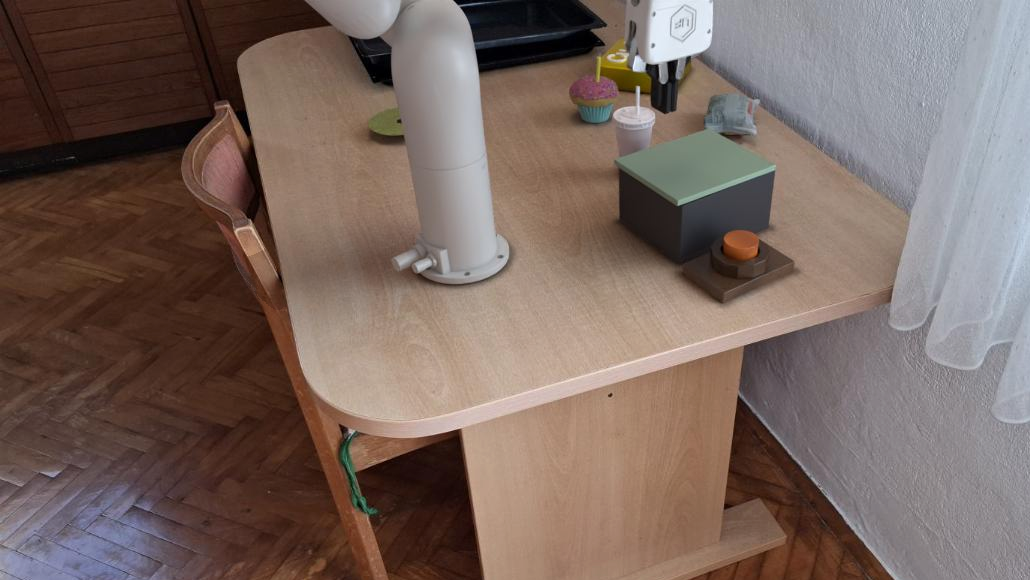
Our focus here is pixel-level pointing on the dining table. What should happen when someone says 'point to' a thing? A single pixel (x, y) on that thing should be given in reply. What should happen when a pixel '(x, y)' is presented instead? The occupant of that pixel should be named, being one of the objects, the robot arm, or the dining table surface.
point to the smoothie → (633, 127)
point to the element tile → (627, 70)
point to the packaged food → (731, 114)
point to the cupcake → (594, 96)
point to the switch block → (736, 271)
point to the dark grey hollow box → (694, 215)
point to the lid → (694, 166)
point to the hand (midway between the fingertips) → (663, 108)
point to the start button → (740, 245)
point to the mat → (387, 122)
